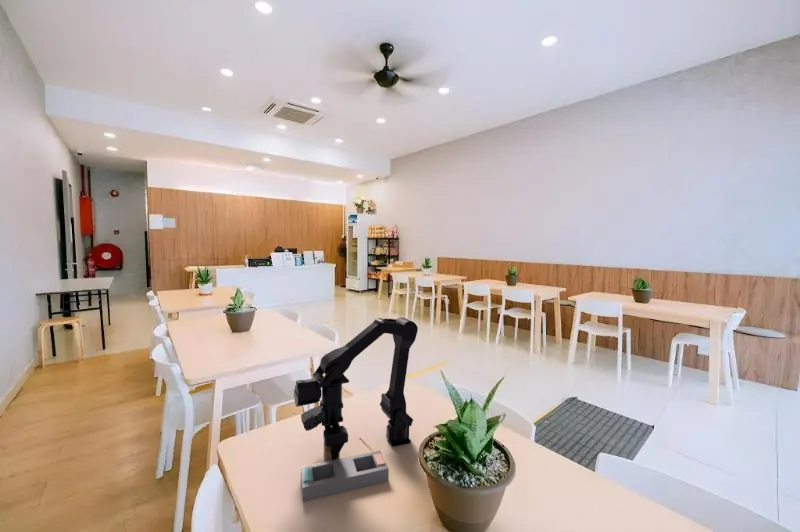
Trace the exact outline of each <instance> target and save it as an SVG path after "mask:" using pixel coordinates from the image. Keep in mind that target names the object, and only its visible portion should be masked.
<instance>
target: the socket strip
mask: <svg viewBox="0 0 800 532" xmlns="http://www.w3.org/2000/svg"><path fill="white" fill-rule="evenodd" d="M368 468H369V469H368ZM364 469H365V470H364ZM389 469H390V468H389V466H388V463H387V462H386V460H385V458H384V456H383V453H382V452H381V450H377V451H372V452H365V453H361V454H358V455H357V454H356V455H352V456H347V457H342V458H341V457H340V458H339V459H336V460H331V461H327V462H325V461H323V462H318V463H312V464H308V465H307V464H306V465H303V466H300V486H301V496H302V502H306V501H310V500H314V499H320V498H323V497H326V496H327V497H328V496H332V495H336V494H340V493H344V492H348V491H352V490H355V489H360V488H364V487H369V486H373V485H378V484H382V483H385V482H386V483H387V482H389V472H390V471H389ZM359 470H361V471H359ZM331 476H332V477H331ZM327 477H329V478H327ZM324 478H325V479H324ZM315 480H317V481H315Z"/></svg>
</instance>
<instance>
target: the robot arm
mask: <svg viewBox="0 0 800 532" xmlns="http://www.w3.org/2000/svg"><path fill="white" fill-rule="evenodd" d="M418 329H419V327H418V325H417V324H416V323H415V322H414V321H412V320H410V319H408V318H405V317H398V318H396V319H395V318H382V317H376V318H375V319H374V320H373V322H371V323H370V325H368V326H367V327H365V328H364V329H363V330H362V331H361V332H359V333H358V334H357V335H355V336H354V337H353V338H352V339H351V340H349V341H348V342H347V343H346V344H345V345H343V346H341V347H338V348H336V349H335V348H334V349H333V350H331V351H329V352H328V353H326V354H324V355H323V356H322V357H321V359H320V364H319V366H318V367H317V368H316V370H315V371H314V373H312V374H313V375H312V377H313V378H308V379H297V380H296V381H295V386H294V389H293V398H294V399H293V400H294V405H295V407H297V408H298V407H303V406H307V405H312V404H316V403H318V402H319V405H317V406H315V407H313V408H310V409H308V410H306V411H304V412H303V413H301V415H300V419H301V423H302V425H303V428H304V430H305V431H306V432H309V431H312V430H313V429H315V428H317V427H318V426H319V425H321V427H324V430H325V431H324V430H323V431H322V432H323V434H322V436H323V445H324V444H325V446H329V447H330V452H331V457H332V460H336V459H337V457H338V455H339V453H341V451H342V449H343V448H344V446H345V444H346V443H348V442H349V433H348V430H347V428H346V427H345V426H344V425H340V423H342V422H344V417H343V410H342V409H343V408H344V403H343V385H344V384H348V383H350V380H349V379H348V378H347V376H345V372H347V370H348V369H349V368H350V366H351V365H352V362H353V361H354V359H355V358H357V356H359V355H360V354H362V353H363V352H364V351H365V350H366V349H367V348H369V346H370V345H372V344H373V343H374V342H376V340H378V339H379V338H380V337H381V336H383V335H384V334H390V335H392V338H393V343H394V351H393V357H392V364H391V373H390V379H389V380H390V381H389V387H388V390H387V391H386V392H384V393H381V399H380V400H381V401H380V403H379V406H380V408H381V409H380V410H381V411H382V412H383V414H385V416H386V418H388V420H387V425H386V439H387V441H388V442H389V444H390V446H391V447H398V446H399V447H400V446H404V445H408V444H411V443H412V440H411V439H410V427H411V426H413V421H414V419H413V417H412V416H411V415H409V414H408V413H407V401H406V396H405V394H404V393H405V384H406V379H407V378H406V376H407V370H408V363H409V355H410V349H411V347H412V345H414V343H415V341H416V338H417V334H418Z"/></svg>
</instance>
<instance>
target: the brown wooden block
mask: <svg viewBox="0 0 800 532" xmlns="http://www.w3.org/2000/svg"><path fill="white" fill-rule="evenodd" d="M324 431H325V429H323V432H324ZM340 453H341V452H340ZM340 453H339V455H338V457H337V459H340ZM323 459H324V462H327V461H331V460H332V457H331V452H330V447H329V446H325V444H324V443H323Z"/></svg>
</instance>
